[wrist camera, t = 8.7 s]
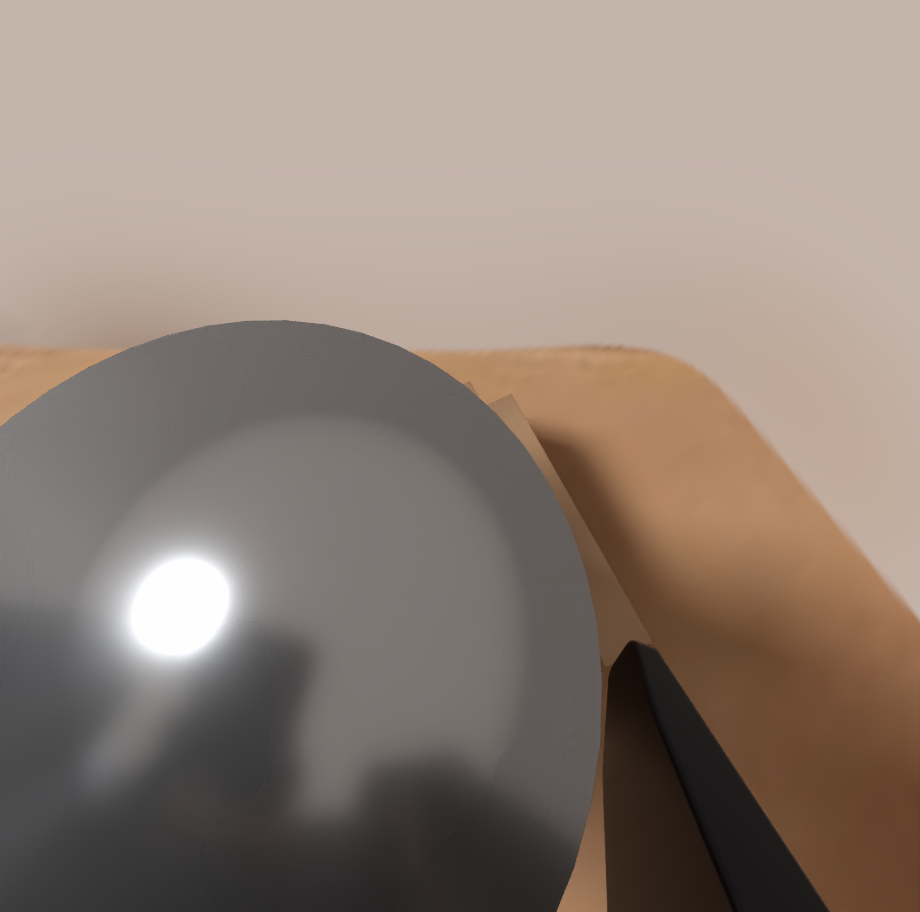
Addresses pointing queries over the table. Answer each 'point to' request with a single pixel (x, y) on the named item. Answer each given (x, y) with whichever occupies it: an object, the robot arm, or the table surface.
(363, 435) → the grey metallic tall cylinder
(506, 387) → the table surface
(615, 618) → the v cradle
